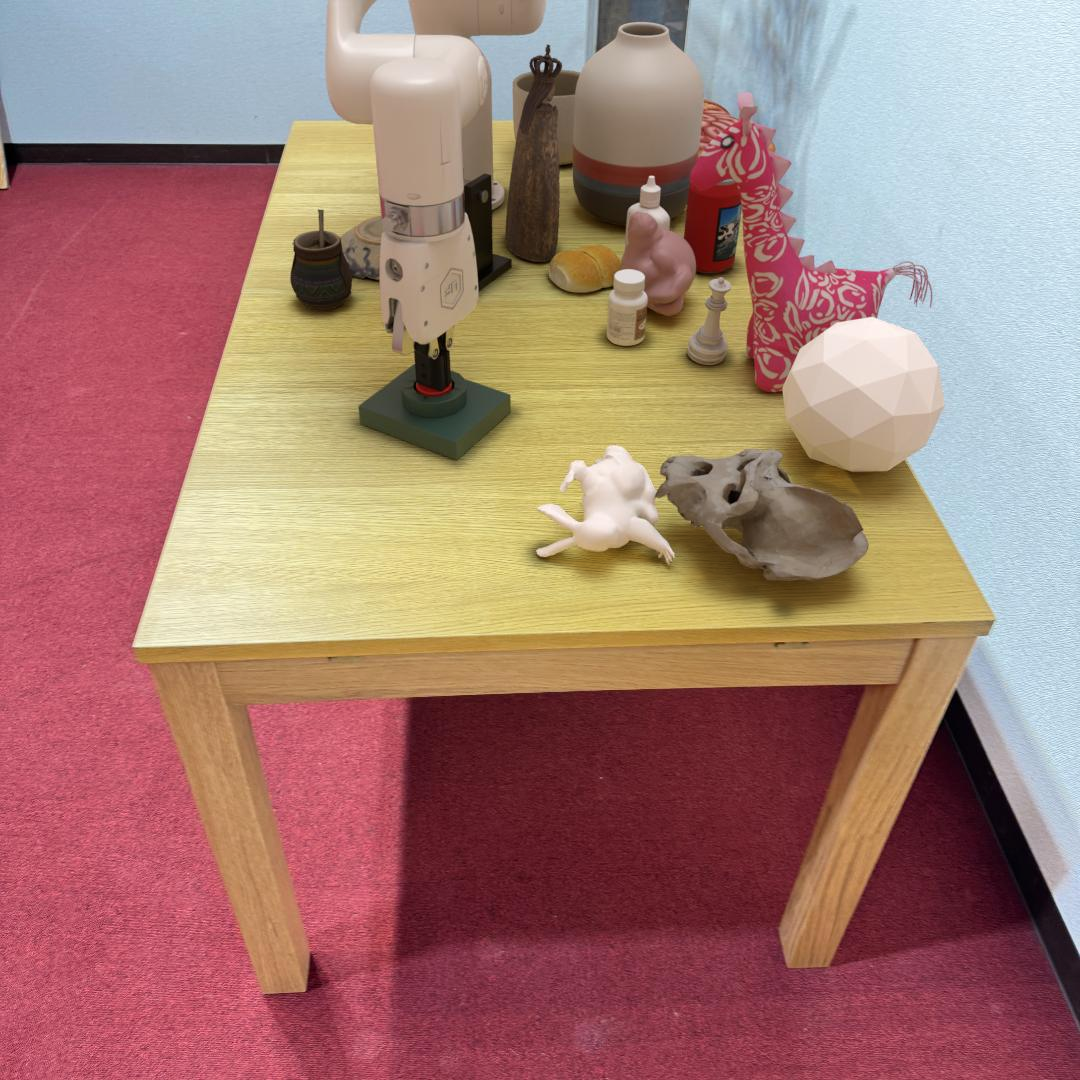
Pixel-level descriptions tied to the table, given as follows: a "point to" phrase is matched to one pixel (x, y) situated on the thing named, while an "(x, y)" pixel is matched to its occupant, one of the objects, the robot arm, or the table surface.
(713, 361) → the chess piece
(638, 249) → the figurine
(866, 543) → the skull
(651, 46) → the vase
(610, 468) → the rabbit figurine
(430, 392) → the button
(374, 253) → the decorative bowl
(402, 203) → the robot arm
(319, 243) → the mate gourd
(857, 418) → the geometric shape
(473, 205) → the lever bracket
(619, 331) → the pill bottle
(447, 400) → the block
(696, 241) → the beverage can
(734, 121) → the anatomical model
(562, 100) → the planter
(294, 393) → the table surface
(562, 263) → the bread roll
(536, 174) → the statue
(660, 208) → the eye dropper bottle
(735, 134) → the toy
